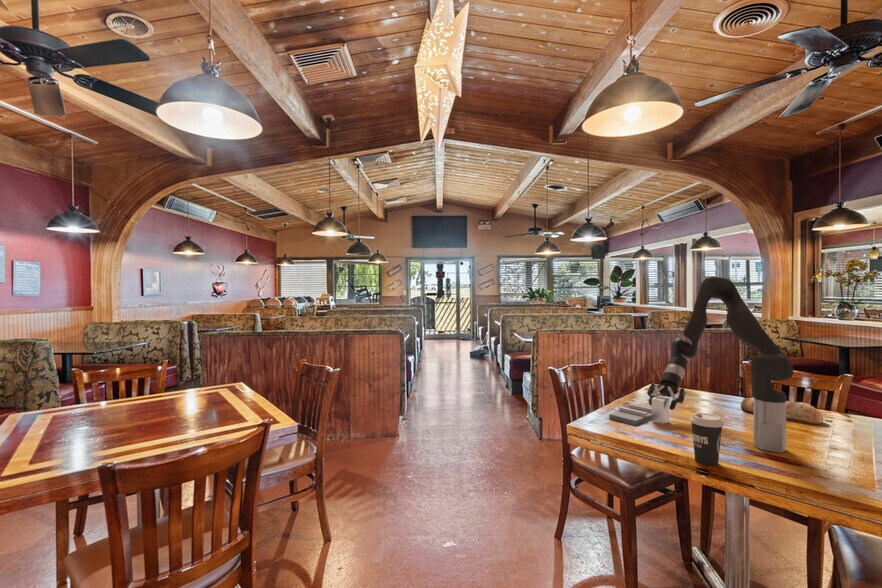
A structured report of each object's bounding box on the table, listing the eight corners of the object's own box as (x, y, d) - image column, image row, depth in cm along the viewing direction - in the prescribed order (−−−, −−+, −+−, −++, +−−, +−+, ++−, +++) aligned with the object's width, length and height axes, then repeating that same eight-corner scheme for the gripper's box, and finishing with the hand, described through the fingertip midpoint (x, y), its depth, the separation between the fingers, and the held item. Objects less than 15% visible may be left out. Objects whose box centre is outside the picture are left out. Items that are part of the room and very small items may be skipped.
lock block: (669, 422, 180) (669, 398, 180) (663, 424, 177) (663, 400, 177) (657, 419, 184) (657, 396, 184) (651, 421, 181) (651, 397, 181)
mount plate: (664, 413, 192) (664, 405, 192) (636, 425, 176) (635, 417, 176) (638, 408, 202) (638, 400, 202) (609, 418, 186) (609, 410, 186)
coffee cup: (694, 453, 146) (694, 410, 146) (727, 461, 139) (727, 416, 139) (685, 461, 139) (685, 416, 139) (719, 470, 133) (719, 422, 132)
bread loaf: (729, 415, 193) (730, 395, 192) (734, 405, 206) (735, 386, 205) (834, 435, 170) (835, 412, 169) (832, 422, 183) (833, 401, 182)
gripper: (653, 369, 192) (641, 398, 185) (687, 373, 181) (675, 405, 174) (659, 379, 195) (647, 408, 188) (692, 384, 184) (680, 415, 177)
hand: (660, 406), depth 181 cm, fingers open, 8 cm apart
